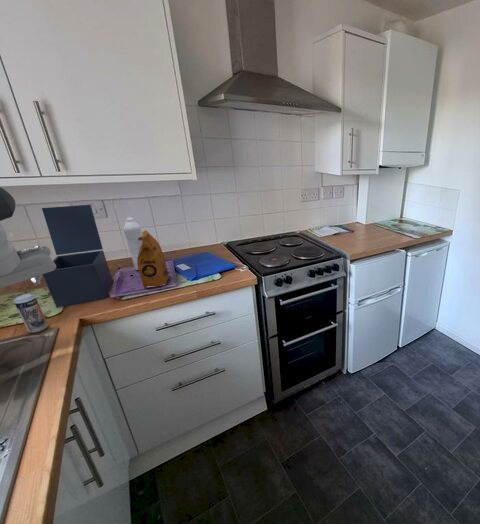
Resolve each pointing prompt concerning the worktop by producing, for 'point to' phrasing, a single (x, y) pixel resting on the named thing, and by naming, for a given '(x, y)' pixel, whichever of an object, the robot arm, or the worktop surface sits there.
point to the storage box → (79, 278)
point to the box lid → (72, 229)
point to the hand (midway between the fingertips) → (14, 291)
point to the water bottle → (133, 238)
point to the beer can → (31, 313)
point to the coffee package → (151, 262)
